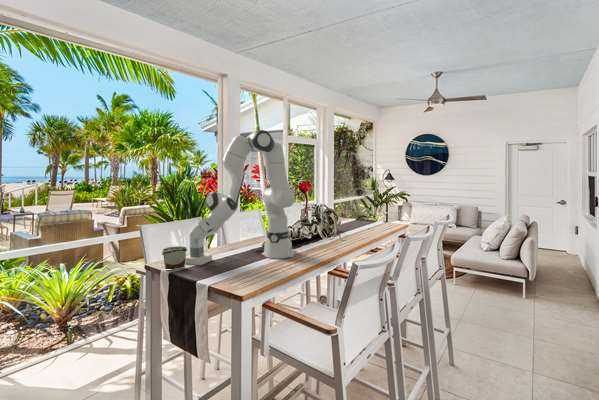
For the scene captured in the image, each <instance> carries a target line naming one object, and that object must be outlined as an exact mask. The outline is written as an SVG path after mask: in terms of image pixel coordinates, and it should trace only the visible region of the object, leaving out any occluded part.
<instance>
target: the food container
mask: <svg viewBox="0 0 599 400" xmlns="http://www.w3.org/2000/svg"><path fill="white" fill-rule="evenodd" d="M187 252H188V249H187V247H186V246H170V247H165V248H163V249H162V252H161V255H162V256H163V263H164V268H165V269H174V270H176V269H175V268H179V269H182V268H181V267H184V268H185V267H186V264H185V258H186V256H187V255H186V254H187ZM165 269H164V270H165Z"/></svg>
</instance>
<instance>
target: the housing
mask: <svg viewBox="0 0 599 400" xmlns="http://www.w3.org/2000/svg"><path fill="white" fill-rule="evenodd" d="M191 240H192V239H191V238H190V237H189V255H190V257H198V258H199V257H201V256H203V255H204V254H205V250H204V248H205V247H204V246H205V245H204V243H205V242H204V241H205V238H204V237H203V238H200V239H197V240H196V242H195V243H192V242H191Z"/></svg>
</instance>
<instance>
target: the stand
mask: <svg viewBox="0 0 599 400" xmlns="http://www.w3.org/2000/svg"><path fill="white" fill-rule="evenodd" d="M212 260H213V254H211V253H204V255H203V256H201V257H199V258H198V257H190V254H188V255H186V258H185V263H187V264H186V265H195V266H196V265H198V266H202V265H204V264H206V263H209V262H211V261H212Z"/></svg>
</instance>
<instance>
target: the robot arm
mask: <svg viewBox="0 0 599 400" xmlns="http://www.w3.org/2000/svg"><path fill="white" fill-rule="evenodd" d="M250 152H258V153H259V152H261V153H262V154H263V157H264V164H265V167H264V168H265V177H266V180H267V181H268V183H269V186H270V187H267V188H265V189H264V190H263V191H262V194H261V199H262V201H263V203H264V207H265V211H266V216H267V231H266V239H265V240H264V248H263V251H262V252H261V255H262V256H264V257H265V258H268V259H269V258H270V259H285V258H294V256H295V254H296V252H295V251H296V249H293V243H292V241H291V240H290V238H289V234H290V230H288V216H287V214H286V212H285V208H290V207H292V206H293V205H294V203H295V200H296V196H295V193H294V192H293V190H292V189H291V187H290V183H289V181H288V178H287V171H286V158H285V153H284V149H283V146H282V144H281V143H279V142H275V140H274V139H273V137H272V135H271V134H270V132H268V131H267V130H264V129H259V130H255V131H253V132H251V133H249V134H248V135H246V136H242V135H236V136H234V137H233V138H232V140H231V141H230V144H229V145H228V147H227V149H226V151H225V154H224V156H223V157H222V163H223V164H222V165H223V167H224V169H225V170H226V172H227V173H228V174H229V175H230V177H231V185H230V188H229V192H228V195H226V194H224V193H221V192H218V191H215V190H213V191H210V192H209V193H208V194H207V195H206V196H205V201H204V202H205V205H206V208H207V209H208V211H210V213H209V214H208V215H207V216H205V217H204V218H203V219H202V220H199V221H198V223H197V224H198V225H196V226H195V227H194V229H192V231H191V232H190V233H189V239H190V238H191V239H192V240H191V242H192V243H195V242H196V240H197V239H200V238H203V237H204V239H205V238H206V237H209V236H212V235H214V234H215V233H216V232H218V231H219V230H220V229H221V228H222V226H224V224H225V222H226V221H229V220H230V218H231V217H232V216H233V215H234V214H235V212H236V211H237V210H238V206H239V198H240V194H241V191H242V187H243V185H244V184H243V183H244V180H245V172H244V170H245V163H246V160H247V158H248V155H249V154H250Z"/></svg>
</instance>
